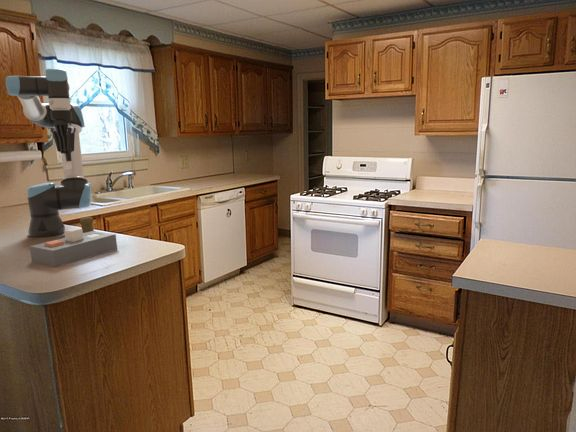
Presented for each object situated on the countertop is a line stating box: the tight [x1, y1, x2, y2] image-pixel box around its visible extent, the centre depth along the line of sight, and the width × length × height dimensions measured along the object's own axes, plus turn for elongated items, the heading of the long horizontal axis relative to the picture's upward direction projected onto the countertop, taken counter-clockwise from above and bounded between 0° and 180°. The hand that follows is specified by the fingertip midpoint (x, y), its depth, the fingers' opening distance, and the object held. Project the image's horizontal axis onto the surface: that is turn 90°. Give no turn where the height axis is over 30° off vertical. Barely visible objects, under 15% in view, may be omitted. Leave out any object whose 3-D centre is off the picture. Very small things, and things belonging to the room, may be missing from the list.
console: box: [29, 230, 118, 268], centre depth 163 cm, size 14×26×6 cm, turn 151°
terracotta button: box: [44, 239, 64, 247], centre depth 156 cm, size 4×4×4 cm
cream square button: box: [86, 234, 100, 237], centre depth 170 cm, size 4×4×4 cm
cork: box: [79, 216, 94, 233], centre depth 182 cm, size 6×6×11 cm
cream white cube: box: [64, 227, 83, 242], centre depth 162 cm, size 4×4×4 cm
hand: (68, 169), depth 175 cm, fingers closed
